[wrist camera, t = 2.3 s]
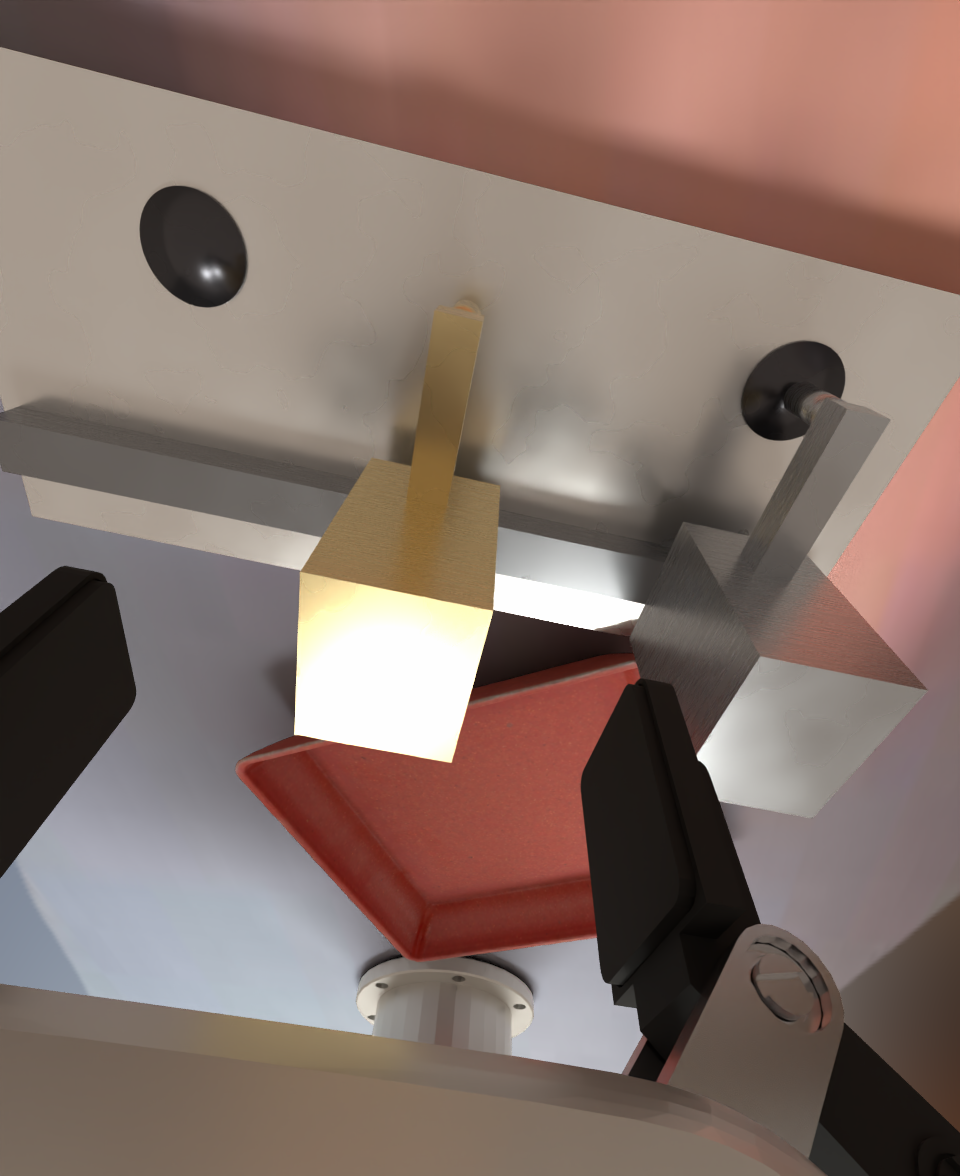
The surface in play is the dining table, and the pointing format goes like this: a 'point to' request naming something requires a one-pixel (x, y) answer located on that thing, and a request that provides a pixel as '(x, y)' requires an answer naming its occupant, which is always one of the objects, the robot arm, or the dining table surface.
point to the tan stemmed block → (404, 580)
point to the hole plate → (497, 396)
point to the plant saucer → (459, 816)
